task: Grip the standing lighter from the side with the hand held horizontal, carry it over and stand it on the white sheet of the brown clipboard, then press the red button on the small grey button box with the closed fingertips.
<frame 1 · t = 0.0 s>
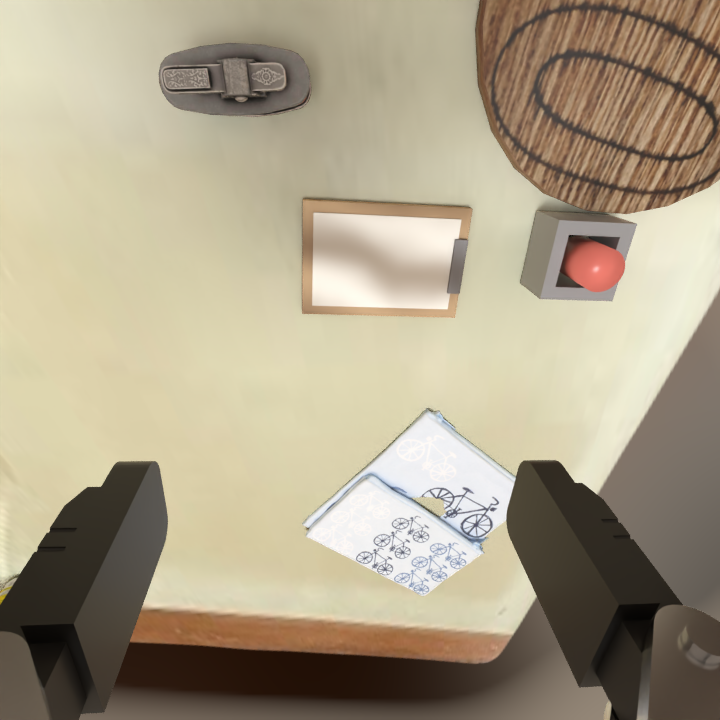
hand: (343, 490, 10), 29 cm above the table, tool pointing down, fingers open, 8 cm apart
trivet: (648, 24, 33), on the table
button box: (562, 249, 39), on the table
button: (587, 262, 35), point 4 cm above the table, slide at 0.0 cm
white flat piece: (423, 504, 52), on the table
lighter: (252, 89, 32), on the table
clipboard: (383, 260, 38), on the table
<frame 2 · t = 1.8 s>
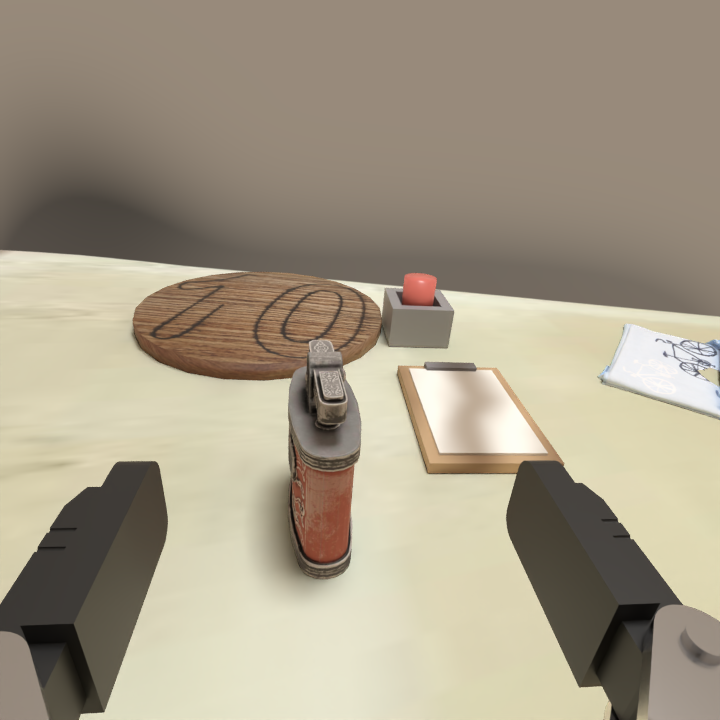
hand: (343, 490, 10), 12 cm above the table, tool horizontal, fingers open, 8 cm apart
trivet: (264, 326, 50), on the table
button box: (413, 334, 49), on the table
button: (418, 297, 47), point 4 cm above the table, slide at 0.0 cm
white flat piece: (718, 385, 46), on the table
lighter: (318, 518, 26), on the table
clipboard: (467, 416, 36), on the table
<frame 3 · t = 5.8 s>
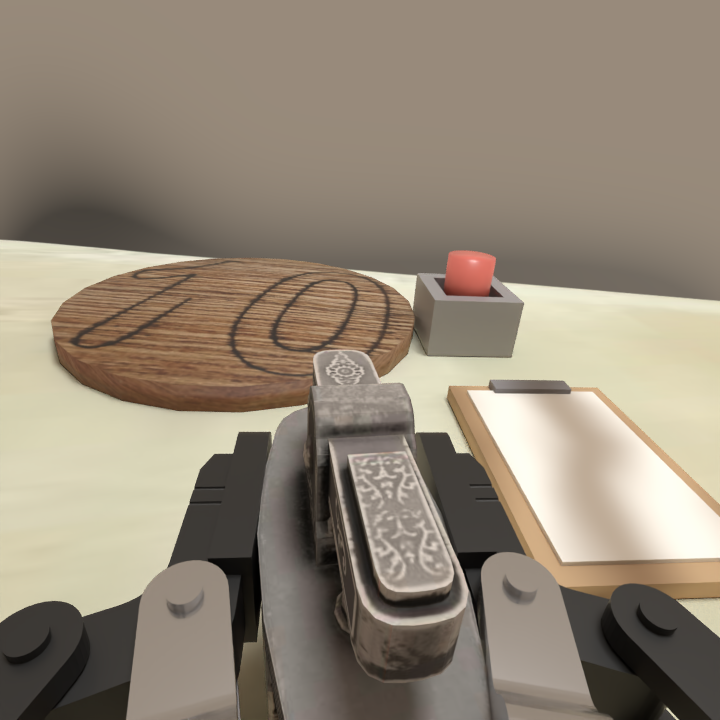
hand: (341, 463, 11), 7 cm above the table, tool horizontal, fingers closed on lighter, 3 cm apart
trivet: (248, 328, 36), on the table
button box: (458, 338, 35), on the table
button: (467, 285, 33), point 4 cm above the table, slide at 0.0 cm
clipboard: (575, 472, 22), on the table
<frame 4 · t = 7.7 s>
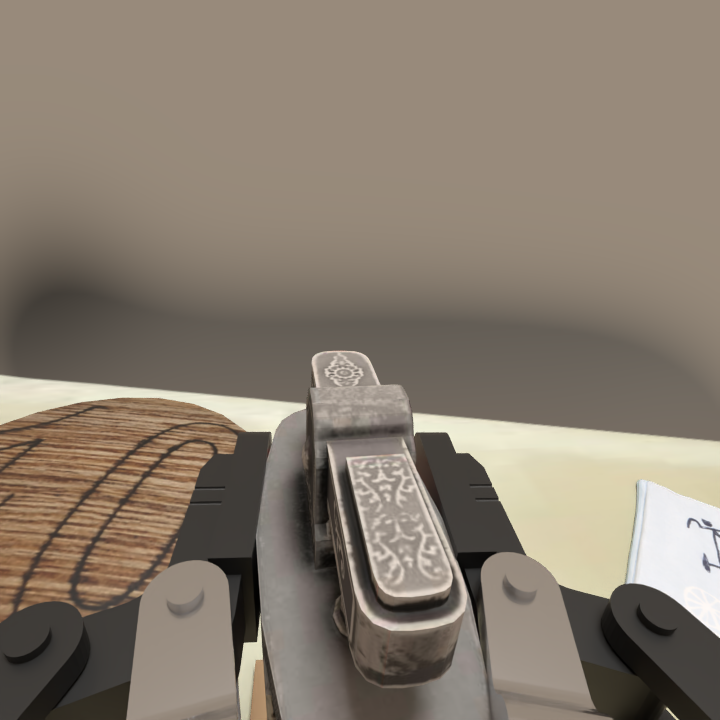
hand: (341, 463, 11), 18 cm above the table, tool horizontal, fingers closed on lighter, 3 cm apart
trivet: (84, 520, 32), on the table
when the fingers open (8 cm above the table, at t = 10.1 s): lighter stays where it is, resting on clipboard.
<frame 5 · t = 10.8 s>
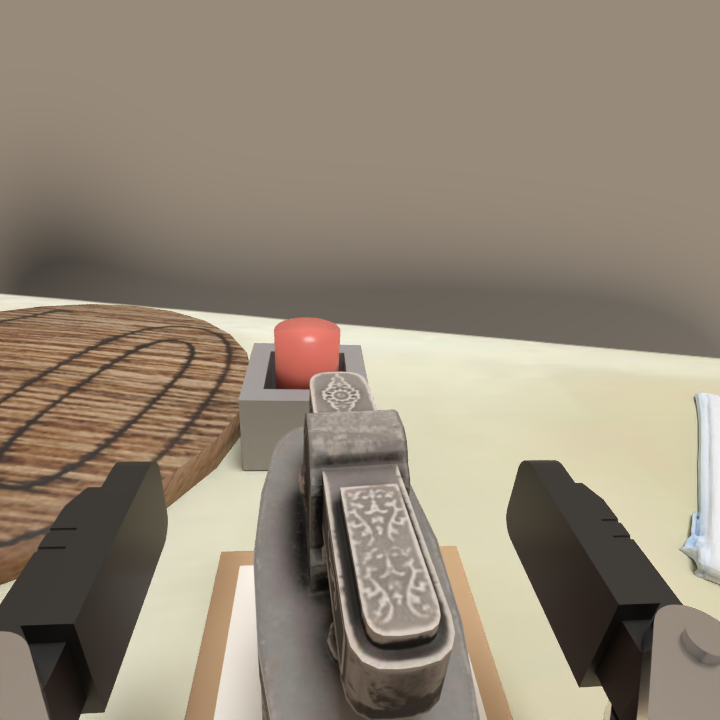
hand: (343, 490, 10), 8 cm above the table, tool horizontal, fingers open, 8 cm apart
trivet: (27, 416, 26), on the table
button box: (306, 433, 26), on the table
button: (307, 367, 24), point 4 cm above the table, slide at 0.0 cm
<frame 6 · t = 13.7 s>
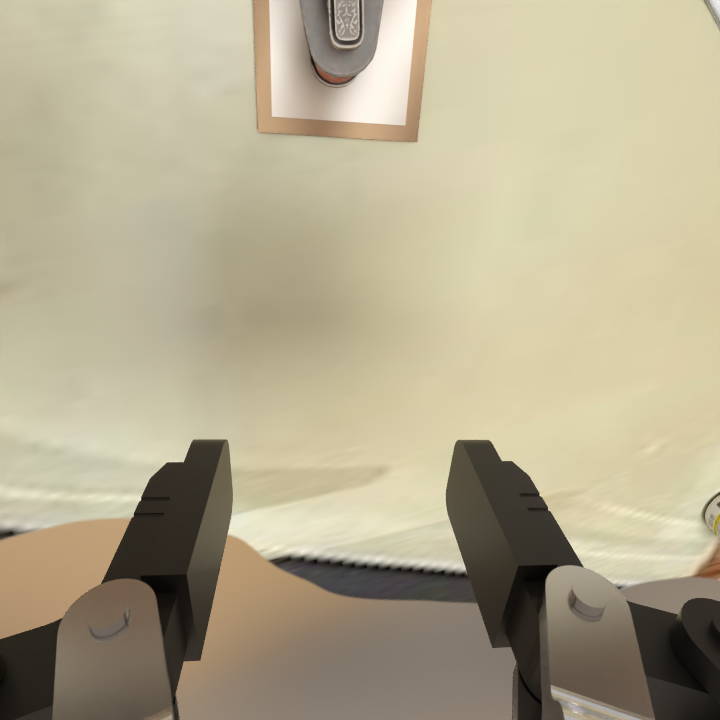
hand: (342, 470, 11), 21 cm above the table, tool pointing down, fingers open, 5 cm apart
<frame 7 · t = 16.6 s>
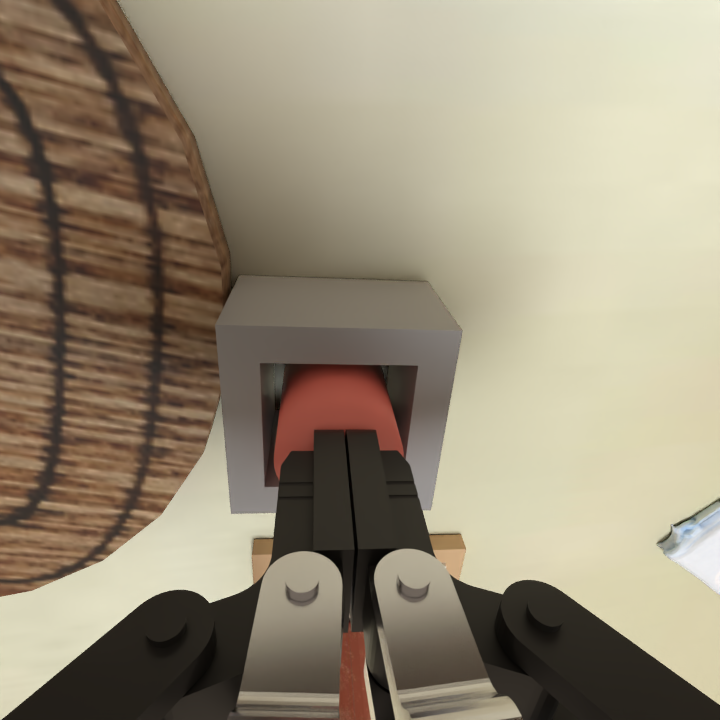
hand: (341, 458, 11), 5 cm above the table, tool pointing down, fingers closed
button box: (332, 362, 16), on the table
button: (336, 413, 13), point 3 cm above the table, slide at 0.9 cm, touching gripper
lighter: (341, 649, 22), point 1 cm above the table, touching clipboard
clipboard: (351, 631, 23), on the table
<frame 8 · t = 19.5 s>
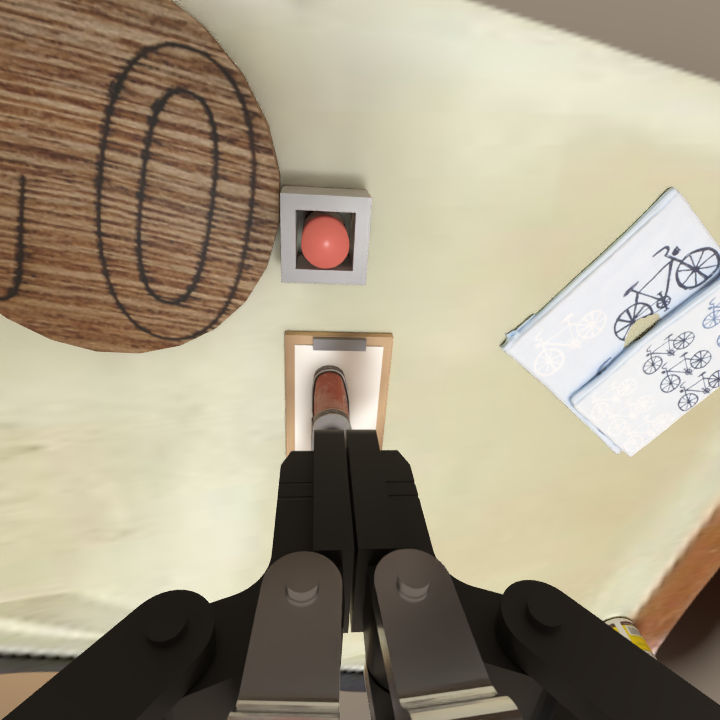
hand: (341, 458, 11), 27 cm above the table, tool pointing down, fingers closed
trivet: (104, 183, 33), on the table
button box: (324, 229, 35), on the table
button: (324, 237, 33), point 3 cm above the table, slide at 1.2 cm
white flat piece: (639, 330, 43), on the table
lighter: (330, 403, 42), point 1 cm above the table, touching clipboard
supplement bottle: (611, 627, 63), on the table
clipboard: (336, 397, 42), on the table
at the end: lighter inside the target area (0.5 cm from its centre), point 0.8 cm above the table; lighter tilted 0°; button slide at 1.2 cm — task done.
